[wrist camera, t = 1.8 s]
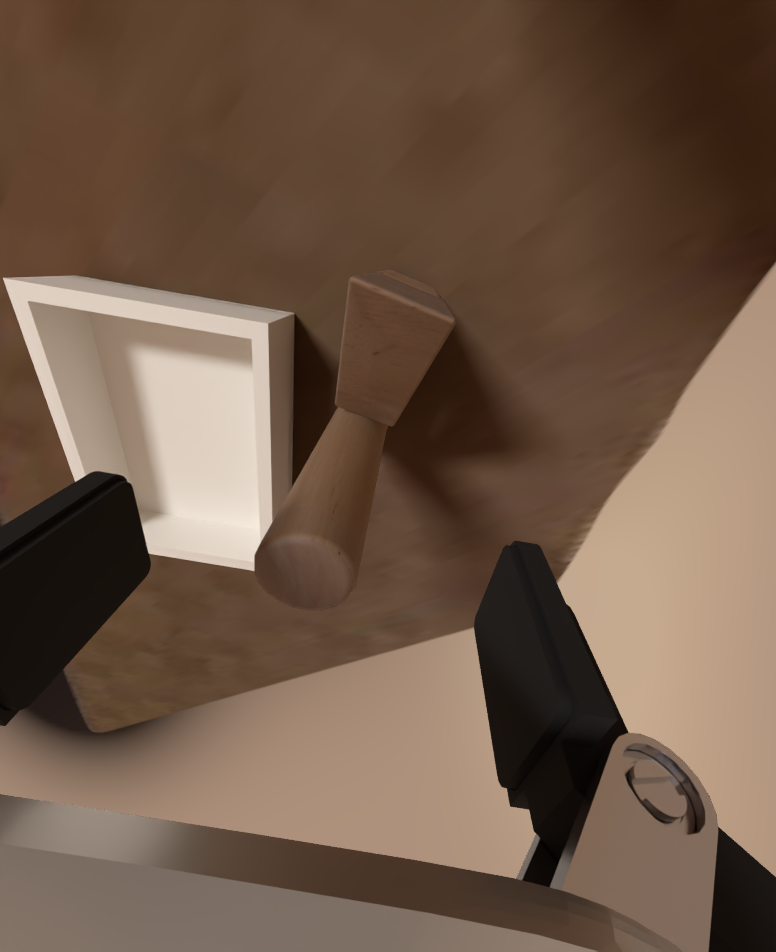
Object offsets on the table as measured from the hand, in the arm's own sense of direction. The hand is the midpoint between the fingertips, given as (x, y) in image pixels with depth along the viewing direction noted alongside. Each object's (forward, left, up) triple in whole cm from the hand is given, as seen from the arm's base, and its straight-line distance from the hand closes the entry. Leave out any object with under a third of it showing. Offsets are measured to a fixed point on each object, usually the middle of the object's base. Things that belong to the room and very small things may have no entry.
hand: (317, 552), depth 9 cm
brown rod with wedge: (-1, 0, -20) cm, 20 cm away
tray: (+7, -14, -20) cm, 25 cm away
